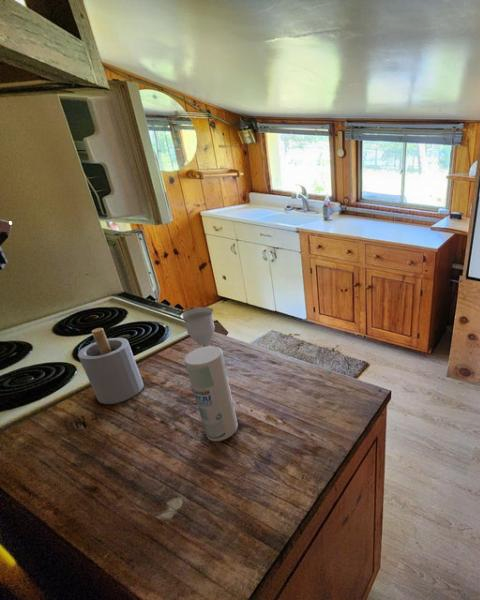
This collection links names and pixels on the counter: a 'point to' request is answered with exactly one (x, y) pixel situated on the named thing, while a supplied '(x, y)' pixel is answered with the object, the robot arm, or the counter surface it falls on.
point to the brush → (101, 341)
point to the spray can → (212, 391)
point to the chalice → (199, 324)
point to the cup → (112, 371)
